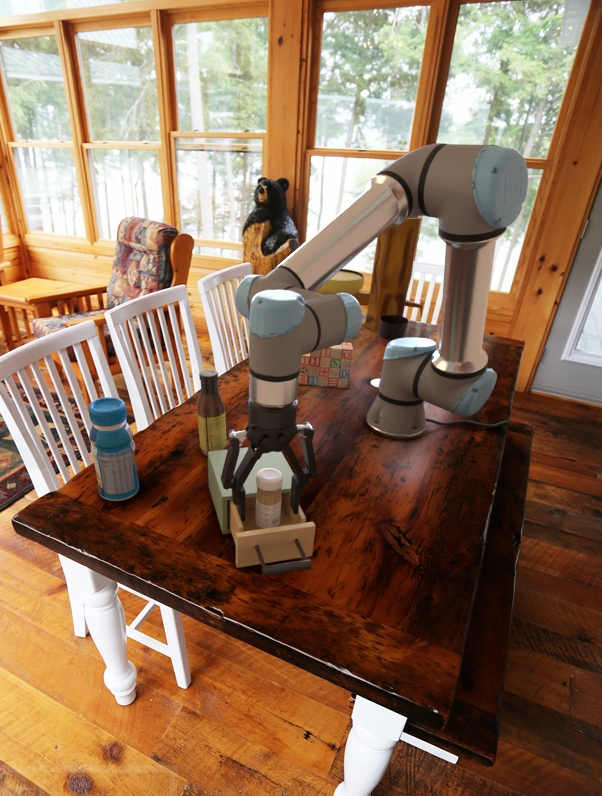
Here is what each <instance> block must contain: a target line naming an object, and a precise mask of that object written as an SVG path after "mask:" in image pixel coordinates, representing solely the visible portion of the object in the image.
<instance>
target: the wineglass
mask: <svg viewBox="0 0 602 796" xmlns="http://www.w3.org/2000/svg"><path fill="white" fill-rule="evenodd" d="M408 325H409V319H408V318H407V317H405V316H403V317H402V316H398V315H384V316H382V317H380V323H379V331H378V339H379V342H380V344H381V345H382V346H383V347H385V348H386V346H387V345H388V343H389V342H391V341H393V340H395V339H399V338H405V336H406V334H407V333H406V332H407V329H408ZM379 382H380V378H374V379H372V380H371V381H370V384H371V386H373V387H375V388H377V389H379Z"/></svg>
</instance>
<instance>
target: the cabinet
mask: <svg viewBox="0 0 602 796" xmlns="http://www.w3.org/2000/svg"><path fill="white" fill-rule="evenodd" d="M227 450H228V449H226V450H219V451H209V452H208V456H207V473H208V475H207V477H208V489H209V492H210V496H211V499H212V502H213V506H214V508H215V512H216V516H217V519H218V523H219V526H220V530H221V533H222V535H228V534H232V533H231V530H230V526H229V523H228V520H227V500H232V489H230V488H229V489H227V490H226V489H224V488H223V485H222V482H221V475H222V471H223V467H224V463H225V459H226V455H227ZM247 450H248V446H247V447H240V452H239V456H238V460H237V464H236V467H235V471H234V474H235V472H236V470H237V468H238V467H239V465H240V463H241V461H242V459H243V458H244V456H245V454H246V452H247ZM286 459H287V458H285V456H284V454H283V451H282V452H270V453H265V454H262V456H261V458H260V459H259V460H257V462H256V464H255V465H254V467H253V469H252V470H251V472H250V474H249V476H248V477H247V479H246V481H245V483H244V484H243V486H244V488H245V491H246V493H245V498H249V497H256V496H257V485H256V474H257V472H258V471H259V470H261V469H264V468H274V469H277V470H279V471H280V472H281V473H282V474H283V485H282V488H281V493H288V492H291V482H292V475H295V473H294V472H293V470H292V468H291V466H290V465H289V463H288V461H287V460H286ZM299 502H300V500H299Z"/></svg>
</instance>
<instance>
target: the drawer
mask: <svg viewBox="0 0 602 796" xmlns="http://www.w3.org/2000/svg"><path fill="white" fill-rule="evenodd" d="M290 495H291V492H288V493H281V513H280V523H279V527H273V528H266V529H259V530H255V528H256V521H255V516H256V497H249V498H245V521H244V522H241V519H240V516H239V513H238V505H234V503H233V500H227V520H228V523H229V526H230V530H231V533H230V534H231V536H232V539H233V543H234V546H235V566H236V568H239V569H240V568H244V567H251V566H256V565H260V566H261V575H262V578H266V577H271V576H277V575H278V576H279V575H284V574H290V573H295V572H301V571H307V570H312V568H313V563H312V560H311V559H310V558H308V557H312V556H313V552H314V541H315V536H316V535H315V534H316V526H317V525H316V524H315V521H308V522H307V517H306V515H305V513H304V512H303V509H302V507H301V505H300V504H299V511H298V514H294V513H293V511H292V508H291V506H290ZM300 558H301V559H302V560H295V559H300ZM288 560H295V561H289V562H282V563H277V564H270V565H267V564H269V563H275V562H281V561H288Z"/></svg>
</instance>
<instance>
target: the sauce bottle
mask: <svg viewBox="0 0 602 796" xmlns="http://www.w3.org/2000/svg"><path fill="white" fill-rule="evenodd" d="M198 374H199V375H198V376H199V378H198V379H199V381H200V393H199V395H198V397H197V400H196V408H197V424H198V425H197V426H198V436H199V437H198V438H199V447H200V451H201V454H202V455H205V456H207V457H208V452H209V451H219V450H227V445H228V441H227V423H226V408H225V404H224V402H223V400H222V396H221V393H220V391H219V382H218V380H219V372H218V371H216V370H215V369H204V370H201V371H199V373H198Z"/></svg>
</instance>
